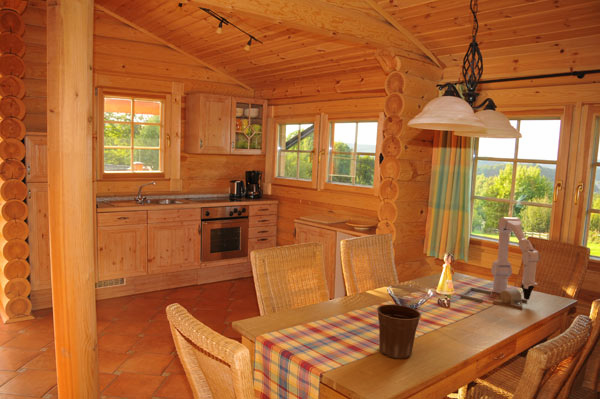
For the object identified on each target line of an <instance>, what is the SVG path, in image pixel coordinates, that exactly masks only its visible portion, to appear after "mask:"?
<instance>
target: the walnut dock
mask: <svg viewBox="0 0 600 399" xmlns="http://www.w3.org/2000/svg"><path fill="white" fill-rule="evenodd" d="M498 298H500V293H498ZM521 301H522V303H524V304H527V303H528V300H527V299H524V298H521ZM492 304H494V305H498V306H504V307H508V308H511V309H516V310H523V309H524V308H523V305H522V306H518V305H519V304H517V305H514V304H509V303H504V302H502V301H501V300H500V301H499V300H494V299H493V300H492Z"/></svg>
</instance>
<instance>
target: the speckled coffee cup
mask: <svg viewBox="0 0 600 399" xmlns="http://www.w3.org/2000/svg"><path fill="white" fill-rule="evenodd" d="M499 294H500V293H499ZM499 299H500V302H504V303H509V304H514V305H518V306H523V302H522V301H521V299H522V294H521V292H520V290H518V289H517V288H515V287H513V288H507V290H504V291H502V292H501V294H500V297H499Z"/></svg>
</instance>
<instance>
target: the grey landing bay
mask: <svg viewBox="0 0 600 399" xmlns="http://www.w3.org/2000/svg"><path fill="white" fill-rule="evenodd" d="M472 291H473V292H479V293H483V294H488V295H492V293H493V292H492V291H491V290H487V289H482V288H477V287H471V286H469V288H468V289H466V290H465V291H463V293H461V294H460V298H461V299H465V300H470V301H475V302H479V303H482V302H483V303H484V299H483V298H478V297H476V296H475V297H473V296H470V295H468V294H470V292H472Z"/></svg>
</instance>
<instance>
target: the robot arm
mask: <svg viewBox="0 0 600 399" xmlns="http://www.w3.org/2000/svg"><path fill="white" fill-rule="evenodd" d="M498 232H499V233H498V246H497V248H498V249H497V259H496V260H495V261H493V262H492V265H491V268H490V272H491V274H492V276H493V282H492V283H493V284H492V289H491V290H490V291H492V293H496V294H501V292H502V291H504V290H508V283H509V278H510V277H511V276H512V274H513V269H512V263H511V262H510V261H508V260H509V259H508V258H509V245H510V244H509V243H510V234H511V232H512V233H513V234H514V236H515V237H516V239H517V241H518V243H517V246H518V247H519V248H520V251H521V253H522V255H521V257H522V264H523V269H522V270H523V272H522V280H521V286H520V287H521V289H522V293H523V299H525V300H527V301H529V300H530V298H531V295H532V292H533V290H534V288H535V286H537V285H538V282H536V274H537V273H536V272H537V263H538V262H539V261H540V259H541V254H540V252H539V251H538V250H536V249H535V248H534V246H533V245H532V243H531V241H530V240H529V238H528V239H527V238H526V235H525V234H524V231H523V228H522V221H521V219H520V218H519V217H509V216H508V217H507V216H506V217H505V216H502V217H500V218H499V219H498Z"/></svg>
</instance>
